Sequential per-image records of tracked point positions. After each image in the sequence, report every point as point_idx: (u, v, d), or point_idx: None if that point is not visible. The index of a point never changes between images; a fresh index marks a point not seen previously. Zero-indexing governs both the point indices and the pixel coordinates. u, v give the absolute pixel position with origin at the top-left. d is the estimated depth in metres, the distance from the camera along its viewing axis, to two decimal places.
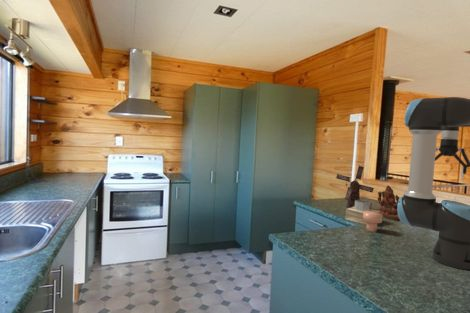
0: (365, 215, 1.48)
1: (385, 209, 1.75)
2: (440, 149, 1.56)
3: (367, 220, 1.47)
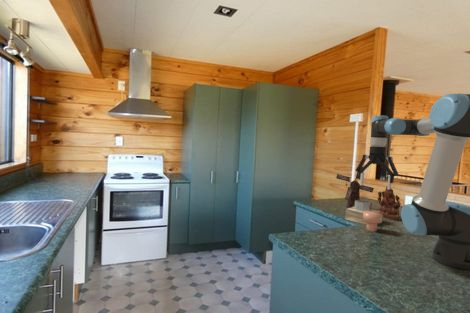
0: (365, 215, 1.48)
1: (385, 209, 1.75)
2: (369, 157, 1.49)
3: (367, 220, 1.47)
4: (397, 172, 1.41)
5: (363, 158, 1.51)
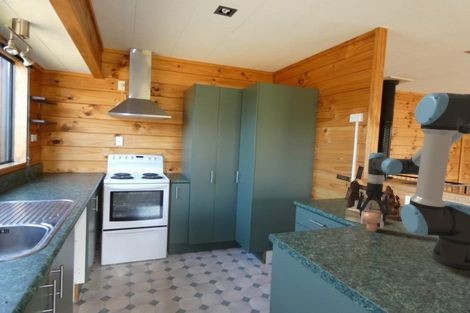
0: (365, 215, 1.48)
1: (385, 209, 1.75)
2: (366, 193, 1.50)
3: (367, 220, 1.47)
4: (390, 212, 1.44)
5: (361, 195, 1.52)
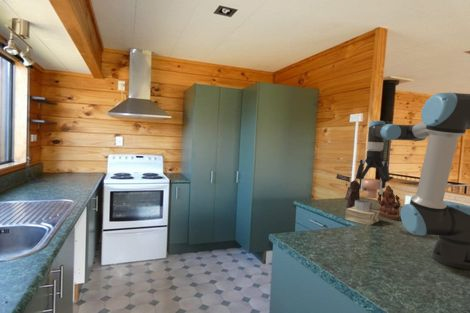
0: (365, 182, 1.51)
1: (385, 209, 1.75)
2: (366, 161, 1.53)
3: (367, 187, 1.50)
4: (389, 178, 1.47)
5: (361, 163, 1.55)
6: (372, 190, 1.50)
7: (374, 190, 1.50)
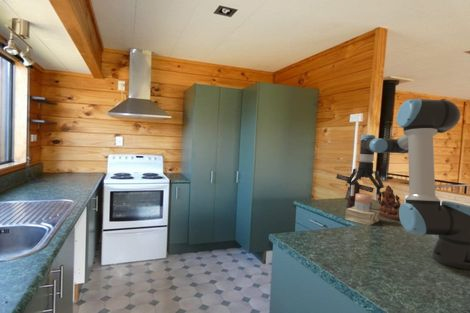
0: (357, 196, 1.66)
1: (385, 209, 1.75)
2: (359, 171, 1.68)
3: (359, 201, 1.64)
4: None
5: (353, 172, 1.70)
6: None
7: None
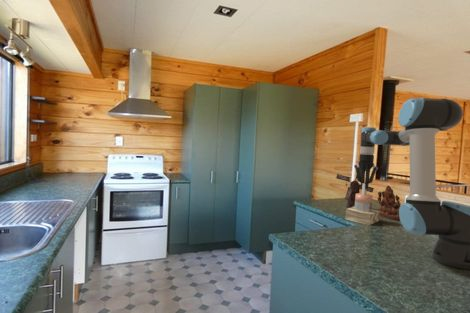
0: (357, 196, 1.66)
1: (385, 209, 1.75)
2: (359, 164, 1.67)
3: (359, 201, 1.64)
4: (372, 180, 1.64)
5: (356, 168, 1.68)
6: None
7: None
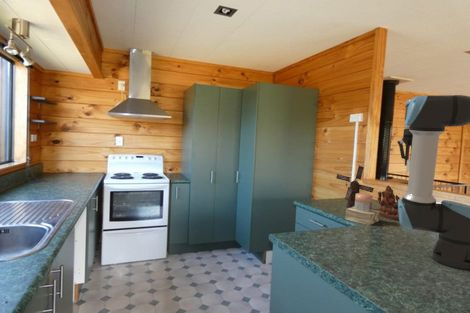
0: (357, 196, 1.66)
1: (385, 209, 1.75)
2: (403, 139, 1.57)
3: (359, 201, 1.64)
4: None
5: (399, 144, 1.58)
6: None
7: None
